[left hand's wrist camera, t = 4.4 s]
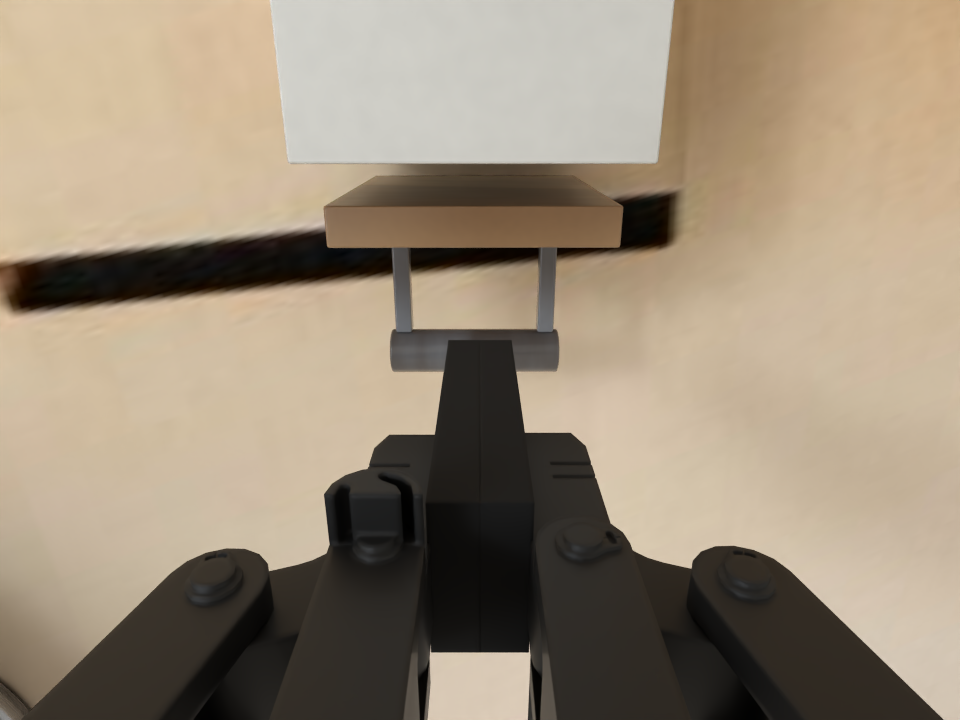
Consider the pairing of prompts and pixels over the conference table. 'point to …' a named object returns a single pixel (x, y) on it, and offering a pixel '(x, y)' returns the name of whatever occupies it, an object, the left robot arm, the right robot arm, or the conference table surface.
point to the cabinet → (472, 80)
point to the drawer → (473, 245)
